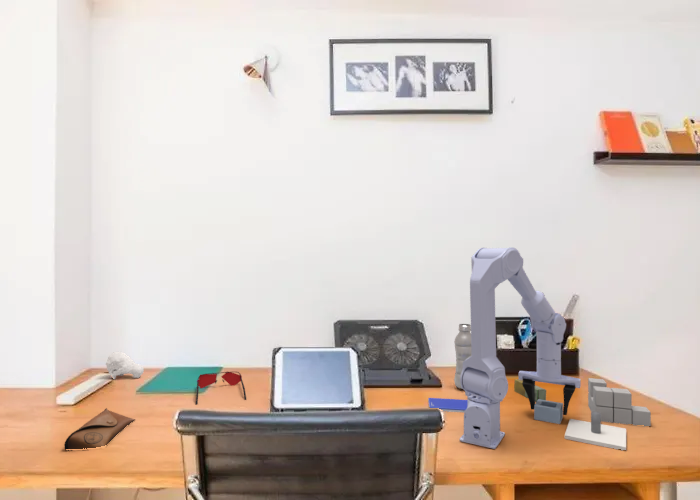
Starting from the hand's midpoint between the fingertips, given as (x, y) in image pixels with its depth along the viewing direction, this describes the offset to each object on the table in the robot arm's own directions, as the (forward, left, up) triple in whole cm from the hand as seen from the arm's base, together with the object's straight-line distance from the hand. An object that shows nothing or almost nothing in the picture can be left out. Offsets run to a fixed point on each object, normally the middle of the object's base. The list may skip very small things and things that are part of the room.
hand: (548, 411), depth 115 cm
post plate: (-6, -11, -2) cm, 13 cm away
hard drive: (-5, +24, -2) cm, 25 cm away
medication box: (+16, +7, -2) cm, 17 cm away
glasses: (-31, +87, -2) cm, 92 cm away
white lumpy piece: (-36, +127, -2) cm, 132 cm away
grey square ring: (0, 0, -2) cm, 2 cm away
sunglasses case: (-66, +87, -2) cm, 110 cm away
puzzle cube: (+11, -15, -2) cm, 19 cm away
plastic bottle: (+13, +26, -2) cm, 29 cm away
